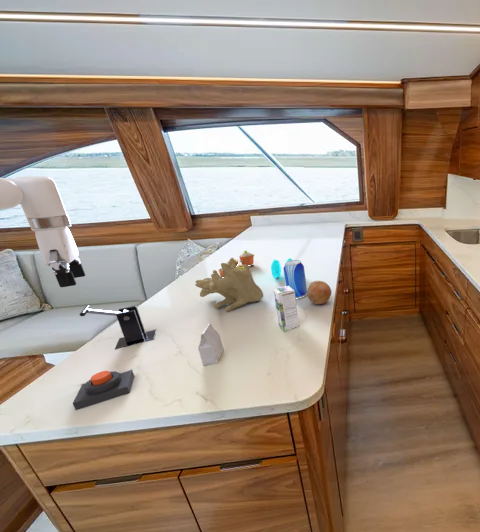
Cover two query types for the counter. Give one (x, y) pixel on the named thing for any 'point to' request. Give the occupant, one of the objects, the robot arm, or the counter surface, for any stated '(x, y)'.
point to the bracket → (132, 328)
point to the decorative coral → (231, 286)
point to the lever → (99, 311)
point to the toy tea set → (244, 259)
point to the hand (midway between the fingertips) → (73, 281)
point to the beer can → (295, 277)
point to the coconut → (319, 292)
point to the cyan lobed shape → (277, 267)
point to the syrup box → (286, 307)
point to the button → (101, 377)
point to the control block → (104, 390)
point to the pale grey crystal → (210, 346)
